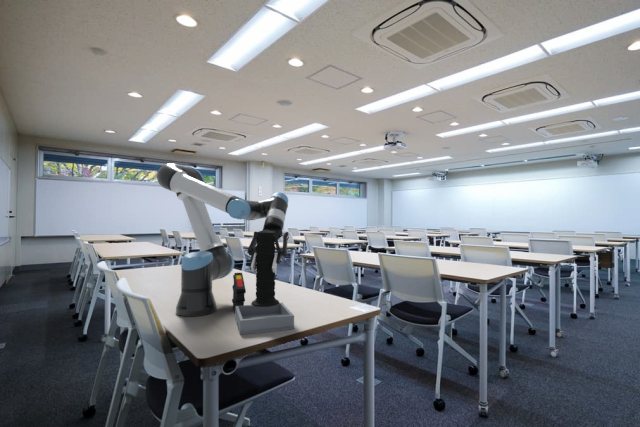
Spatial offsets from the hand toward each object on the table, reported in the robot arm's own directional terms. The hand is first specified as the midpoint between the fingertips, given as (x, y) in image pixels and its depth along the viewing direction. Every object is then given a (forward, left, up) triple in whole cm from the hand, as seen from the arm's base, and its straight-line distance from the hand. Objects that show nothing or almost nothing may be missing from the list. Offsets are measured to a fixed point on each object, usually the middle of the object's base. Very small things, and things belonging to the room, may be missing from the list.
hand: (263, 269), depth 111 cm
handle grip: (+2, +3, -13) cm, 13 cm away
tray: (+1, +3, -20) cm, 20 cm away
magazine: (-6, +21, -20) cm, 30 cm away
